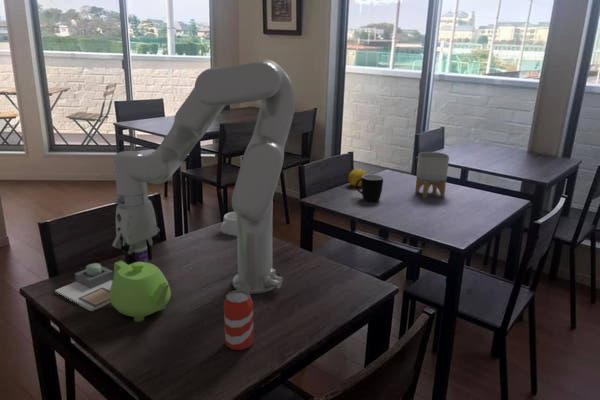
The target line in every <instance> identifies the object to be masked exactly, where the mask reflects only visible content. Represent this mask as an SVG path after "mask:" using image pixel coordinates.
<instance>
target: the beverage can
mask: <svg viewBox="0 0 600 400" xmlns="http://www.w3.org/2000/svg"><path fill="white" fill-rule="evenodd" d="M223 315H224V316H223V319H224V321H223V323H224V337H225V338H224V341H225V346H226V347H228V348H230V349H231V350H235V351H236V350H237V351H242V350H245V349H247V348H250V347H251V346H252V344H253V343H254V342H255V341H254V340H255V338H254V335H255V334H254V301H253V299H252V297H251V294H249V293H248V292H246V291H244V290H237V289H235V290H233V291H229V292H228V293H227V294H226V295H225V299H224V300H223Z"/></svg>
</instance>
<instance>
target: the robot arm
mask: <svg viewBox="0 0 600 400" xmlns="http://www.w3.org/2000/svg"><path fill="white" fill-rule="evenodd" d="M294 89H295V88H294V85H293V82H292V81H291V79H290V76H289V75H288V74H287V73H286V71H285V70H284V69H283V68H282V67H281V65H279V64H278V63H277V62H276V61H273V60H271V59H267V58H265V59H264V58H263V59H259V60H256V61H253V62H252V61H251V62H248V63H244V64H243V63H242V64H237V65H231V66H223V67H220V66H213V67H209V68H208V69H204V70H202V71H201V73H199V74H198V76H197V78H196V80H195V82H194V86H193V88H192V90H191V92H190V93H189V95H187V97H186V99H185V100H184V101H183V103H182V104H181V105H180V107H178V110H177V111H176V113H175V115H174V118H173V119H174V120H173V124H172V126H171V128H170V130H169V131H168V133H167V134H166V136H165V137H164V139H163V140H162V142H161V143H160V144H159V145H158V147H157V148H156V149H155V150H154V151H153V152H152V153H150V154H146V155H144V154H143V153H142V152H141V151H137V150H125V151H119V152H117V153H116V154H115V155H114V156H113V168H114V175H115V185H116V193H117V194H116V195H117V196H116V197H117V198H116V199H114V203H115V205H117V206H116V209H115V233H116V234H115V235H116V236H115V238H114V240H113V243H112V245H111V246H112V248H113V247H114V248H116V249H119V250H120V251H122V252H123V253H124V258H125V261H124V262H125V263H126V264H127V265H130V264H133V263H135V254H134V253H133V244H135V243H138V242H140V241H143V240H145V239H146V243H147V252H148V261H151V260H153V251H152V246H153V245H154V241H155V239H156V236H157V235H158V234H159V232H160V231H161V230H160V228H159V227H158V226H157V219H156V213H155V208H154V206H153V203H152V201H151V199H149V194H148V193H149V192H148V183H149V184H155V185H158V184H164V183H165V182H167V181H169V179H170V178H171V177H172V176H173V175H174V173H175V172H176V171H177V170H178V169H179V168H180V166H181V165H182V164H183V162H184V161H185V160H186V158H187V156H188V155H190V153H191V151H192V150H193V148H194V147H195V146H196V144H197V143H198V142H199V141H200V140H201V139H202V138H203V137H204V135H205V134H206V133H207V132H208V130H209V128H210V127H211V125H212V124H213V123H214V122H215V120H216V119H217V117H218V116H219V114H221V112H222V111H223V109H224V108H225V107H226V106H233V105H237V104H244V103H250V102H257V101H260V102H261V103H260V108H259V110H258V111H259V112H258V115H257V119H256V123H255V127H254V130H253V133H252V136H251V139H250V141H249V143H248V144H247V146H246V149H245V151H244V153H243V157H242V161H241V164H240V168H239V171H238V174H237V178H236V181H235V185H234V189H233V193H232V194H231V195H232V196H231V206H232V209H233V212H235V213H236V214H237V236H236V250H237V251H236V252H237V274H236V275H234V276H233V278H232V286H233V288H234V289H235V290H244V291H246V292H248V293H249V294H250V295H251V294H252V295H257V294H264V293H267V292H270V291H273V290H274V289H275V288H276V289H280V288H281V287H282V284H283V283H282V282H283V280H284V278H283V277H282V276H278V275H277V272H276V271H277V270H276V268H273V266H274V265H273V228H274V227H273V210H274V209H273V208H274V204H273V203H274V201H273V199H274V196H275V192H276V188H277V185H278V183H279V179H280V176H281V172H282V169H283V165H284V159H285V148H286V144H287V141H288V137H289V133H290V130H291V125H292V121H293V118H294V115H295V114H294V113H295V108H296V95H295V94H296V93H295V90H294Z"/></svg>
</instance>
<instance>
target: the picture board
mask: <svg viewBox="0 0 600 400" xmlns="http://www.w3.org/2000/svg"><path fill="white" fill-rule="evenodd" d="M101 271H102V273H101V274H99V275H96V276H94V277H90V276H87V273H86V268H84V269H83V270H81V271H78V272H75V273H74V277H75V281H74V282H72V283H69V284H67V285H65V286H62V287H59V288H57V289H55V290H54V293H55V292H57V293H58V294H57V293H56V294H57V295H59V294H60V295H62V296H64V297H65V298H64V297H63V298H64V299H66V298H67V299H66V300H68V299H69V300H68V301H70V302H72V301H73V302H72V303H74V302H75V303H74V304H76V303H77V304H76V305H78V304H79V305H78V306H80V307H82V308H84V309H86V310H88V311H90V312H91V311H92V312H95V310H98V309H101V308H102V307H104V306H107V305H108V304H111V301H110V290H111V285H112V282H113V280H114V270H111V269H109V268H107V267H104V266H103V265H101ZM60 295H59V296H60ZM62 296H61V297H62Z"/></svg>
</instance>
